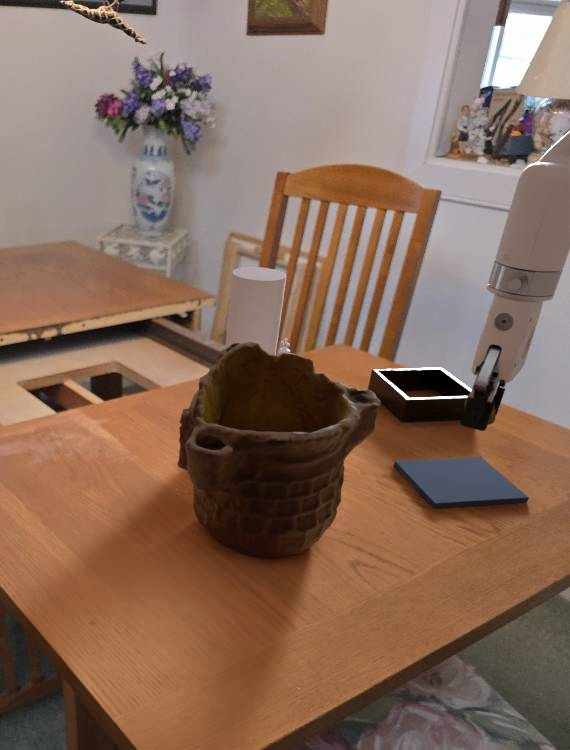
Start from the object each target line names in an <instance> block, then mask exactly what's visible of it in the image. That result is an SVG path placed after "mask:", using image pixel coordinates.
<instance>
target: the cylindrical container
mask: <svg viewBox="0 0 570 750" xmlns="http://www.w3.org/2000/svg"><path fill="white" fill-rule="evenodd" d="M286 282H287V274H286V273H285V272H283V271H281V270H278V269H274V268H270V267H263V266H242V267H237V268H234V269H233V270H232V273H231V283H230V292H229V293H230V294H229V305H228V314H227V325H226V337H225V347H224V349H226V348H228V347H229V346H231V345H232V344H233V343H240V344H241V343H245V342H254V343H258V344H259V345H260V346H261V347H262V348H263V349H264V350H265V351H266V352H268V353H269V354H271V355H275V356H277V349H278V341H279V335H280V328H281V327H280V326H281V318H282V311H283V304H284V297H285V290H286Z"/></svg>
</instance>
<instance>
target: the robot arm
mask: <svg viewBox="0 0 570 750" xmlns="http://www.w3.org/2000/svg"><path fill="white" fill-rule="evenodd" d="M569 253H570V130H569V131H568V132H567V133H566V134H565V135H563V136H562V137H561V138H560V139H559V140H558V141H557V142H555V143H554V145H552V146H551V147H550V148H549V149H548V150H546V152H545V153H544V155H542V156H541V157H540V159H539V160H538V161H537V162H535V163H531V164H529V165H527V166H526V167H525V168H524V169H523V171H522V172H521V173H520V175H519V178H518V180H517V183H516V187H515V190H514V194H513V197H512V201H511V204H510V208H509V211H508V214H507V217H506V221H505V224H504V227H503V231H502V235H501V238H500V241H499V244H498V248H497V252H496V256H495V259H494V262H493V265H492V269H491V272H490V276H489V279H488V282H487V285H486V290H487V291H488V292H489V293H491V294H493V297H492V300H491V303H490V306H489V309H488V311H487V315H486V319H485V321H484V325H483V328H482V331H481V334H480V337H479V340H478V344H477V347H476V351H475V354H474V358H473V362H472V366H471V373H472V374H473V375H474V376H475V379H474V382H473V385H472V388H471V389H472V390H471V393H470V395H469V397H468V400H467V403H466V407H465V410H464V413H463V416H462V420H460V425H461V426H462V427H467V428H470V429H473V430H477V431H480V432H484V431H486V430H487V427H488V422H489V419H490V416H491V413H492V410H493V407H494V406H495V410H496V415H495V417H496V416H497V415H498V412H499V409H500V406H501V403H502V401H503V397H504V394H505V392H506V388H505V387H506V385H507V384H508V383H511V382H512V381H513V380H514V379H515V378H516V377H517V375H518V374H520V372H521V370H522V369H523V368H524V366H525V365H526V361H527V359H528V355H529V351H530V348H531V345H532V342H533V338H534V335H535V332H536V328H537V325H538V322H539V318H540V315H541V312H542V310H543V309H542V308H543V305H544V302H547V301H551V300H553V299H554V296H555V293H556V291H557V288H558V285H559V282H560V279H561V276H562V273H563V271H564V267H565V264H566V262H567V259H568V256H569Z"/></svg>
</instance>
